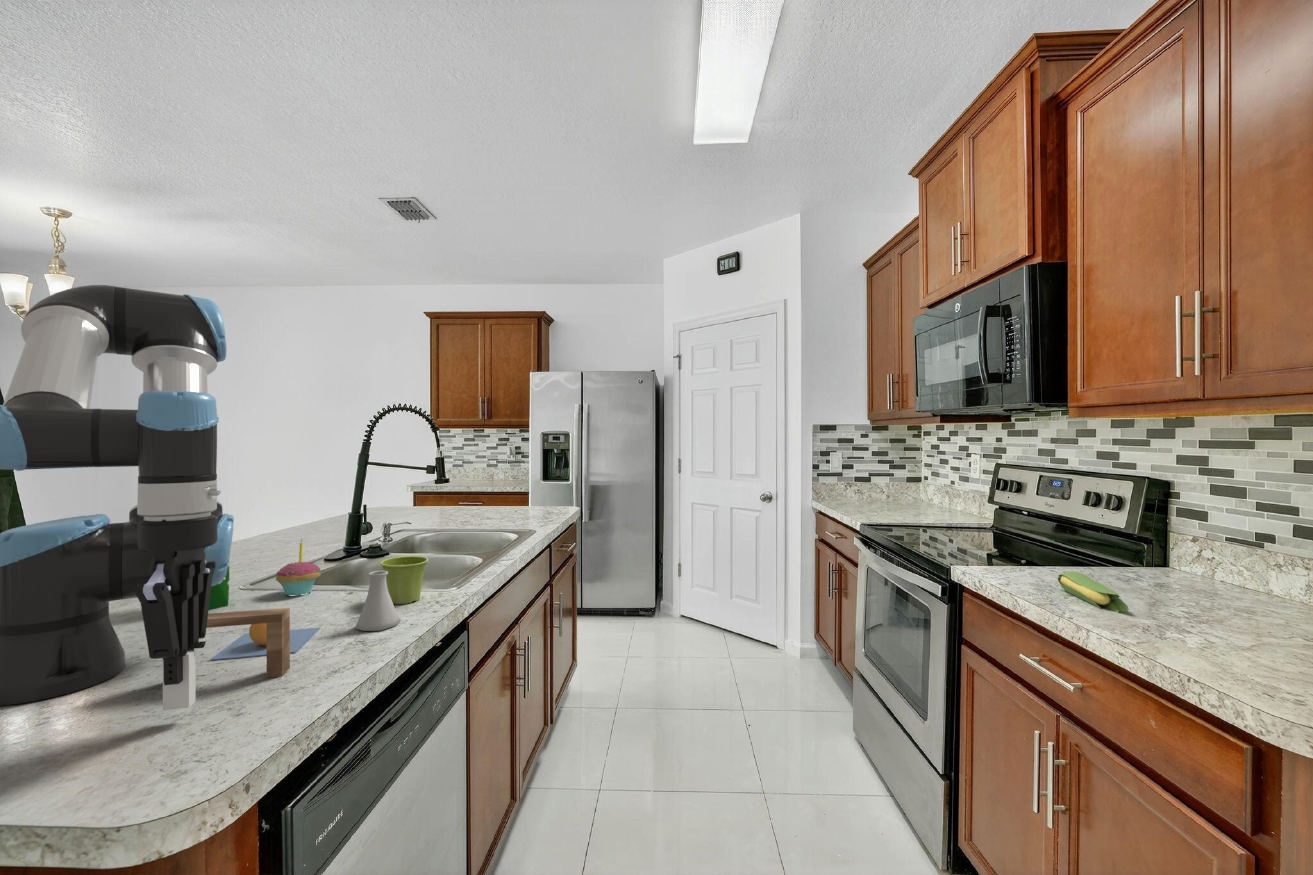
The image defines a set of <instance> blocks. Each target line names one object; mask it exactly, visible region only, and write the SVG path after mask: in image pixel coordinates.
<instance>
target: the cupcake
mask: <svg viewBox="0 0 1313 875" xmlns="http://www.w3.org/2000/svg"><path fill="white" fill-rule="evenodd" d="M298 552H299V553H298V555H299V557H298V562H290V563H288V564H285V565H284V566H283V567H282V568H280V569H279V570H278V571H277V572H276V574H275V575H276V577H275V581H277V582H278V583H279V584H280V586H282V588H283V591H284V594H285V596H286V595H301V594H306V593H308V592H310V593H312V589H313V586H314V583H315V581H316V580H317V578H320V577H321V568H320V566H319V565H317V564H316V563H314V562H310V561H307V562H306V561H303V557H304V542H303V539H302V538H301V541H300V543H299V551H298Z"/></svg>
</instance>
